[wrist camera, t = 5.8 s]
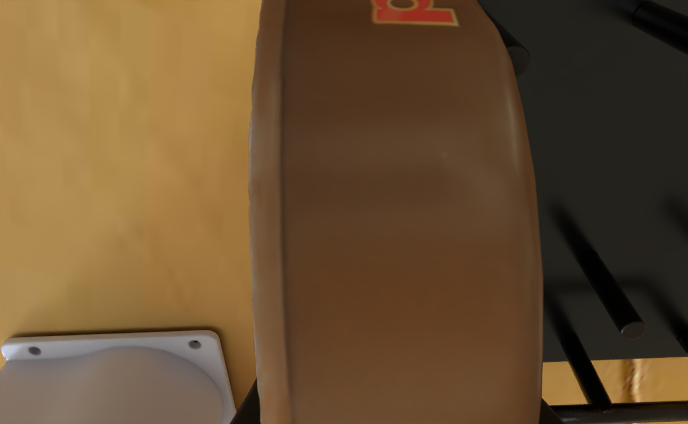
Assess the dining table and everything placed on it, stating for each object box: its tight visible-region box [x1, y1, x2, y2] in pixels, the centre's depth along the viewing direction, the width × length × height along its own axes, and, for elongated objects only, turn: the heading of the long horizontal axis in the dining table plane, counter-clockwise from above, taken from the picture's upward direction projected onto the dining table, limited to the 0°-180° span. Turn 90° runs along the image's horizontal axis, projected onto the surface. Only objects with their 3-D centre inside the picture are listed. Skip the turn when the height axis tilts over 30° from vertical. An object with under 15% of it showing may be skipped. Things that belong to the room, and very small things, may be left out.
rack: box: [477, 0, 688, 424], centre depth 17 cm, size 12×20×5 cm, turn 3°
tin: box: [248, 0, 543, 424], centre depth 10 cm, size 15×3×8 cm, turn 3°
